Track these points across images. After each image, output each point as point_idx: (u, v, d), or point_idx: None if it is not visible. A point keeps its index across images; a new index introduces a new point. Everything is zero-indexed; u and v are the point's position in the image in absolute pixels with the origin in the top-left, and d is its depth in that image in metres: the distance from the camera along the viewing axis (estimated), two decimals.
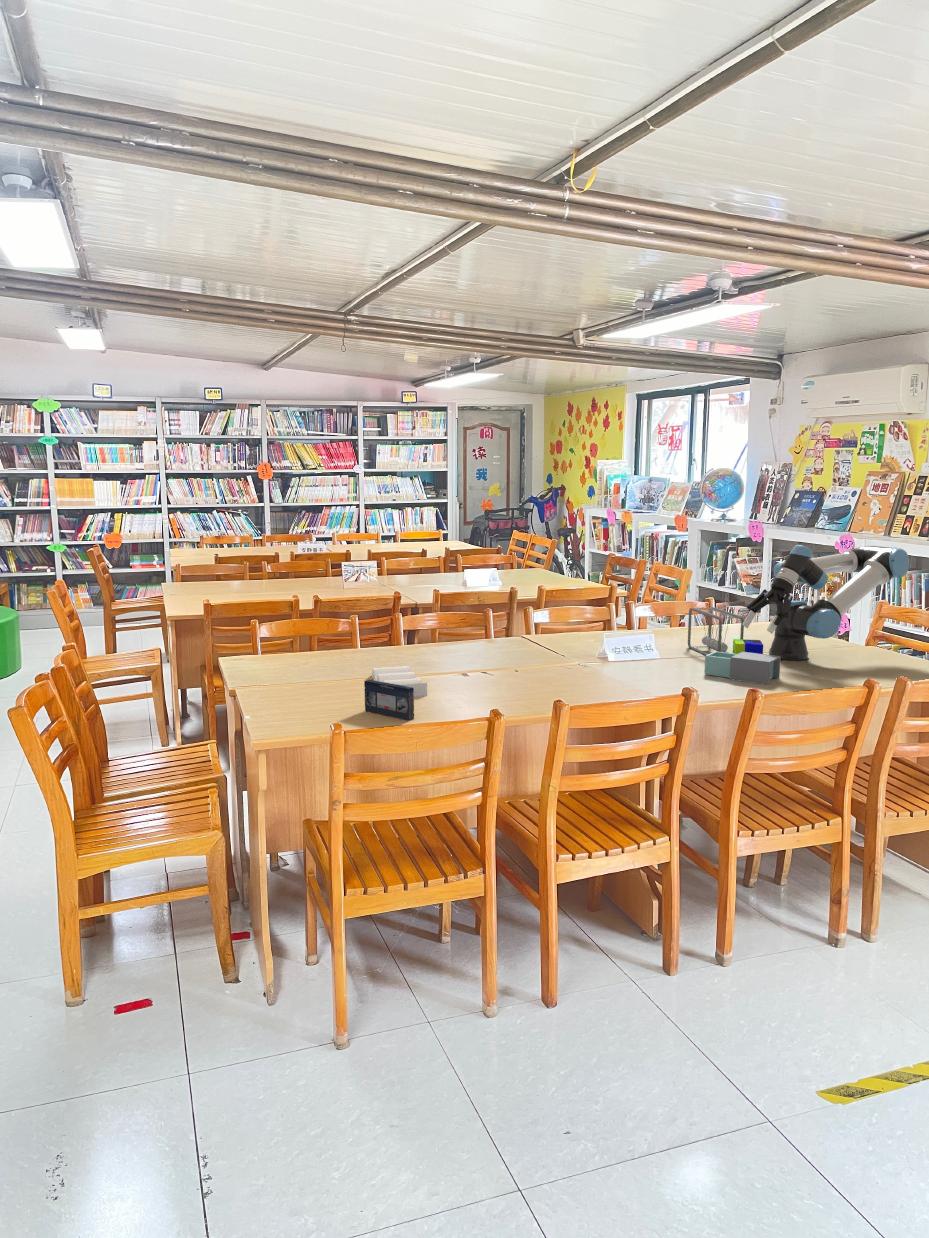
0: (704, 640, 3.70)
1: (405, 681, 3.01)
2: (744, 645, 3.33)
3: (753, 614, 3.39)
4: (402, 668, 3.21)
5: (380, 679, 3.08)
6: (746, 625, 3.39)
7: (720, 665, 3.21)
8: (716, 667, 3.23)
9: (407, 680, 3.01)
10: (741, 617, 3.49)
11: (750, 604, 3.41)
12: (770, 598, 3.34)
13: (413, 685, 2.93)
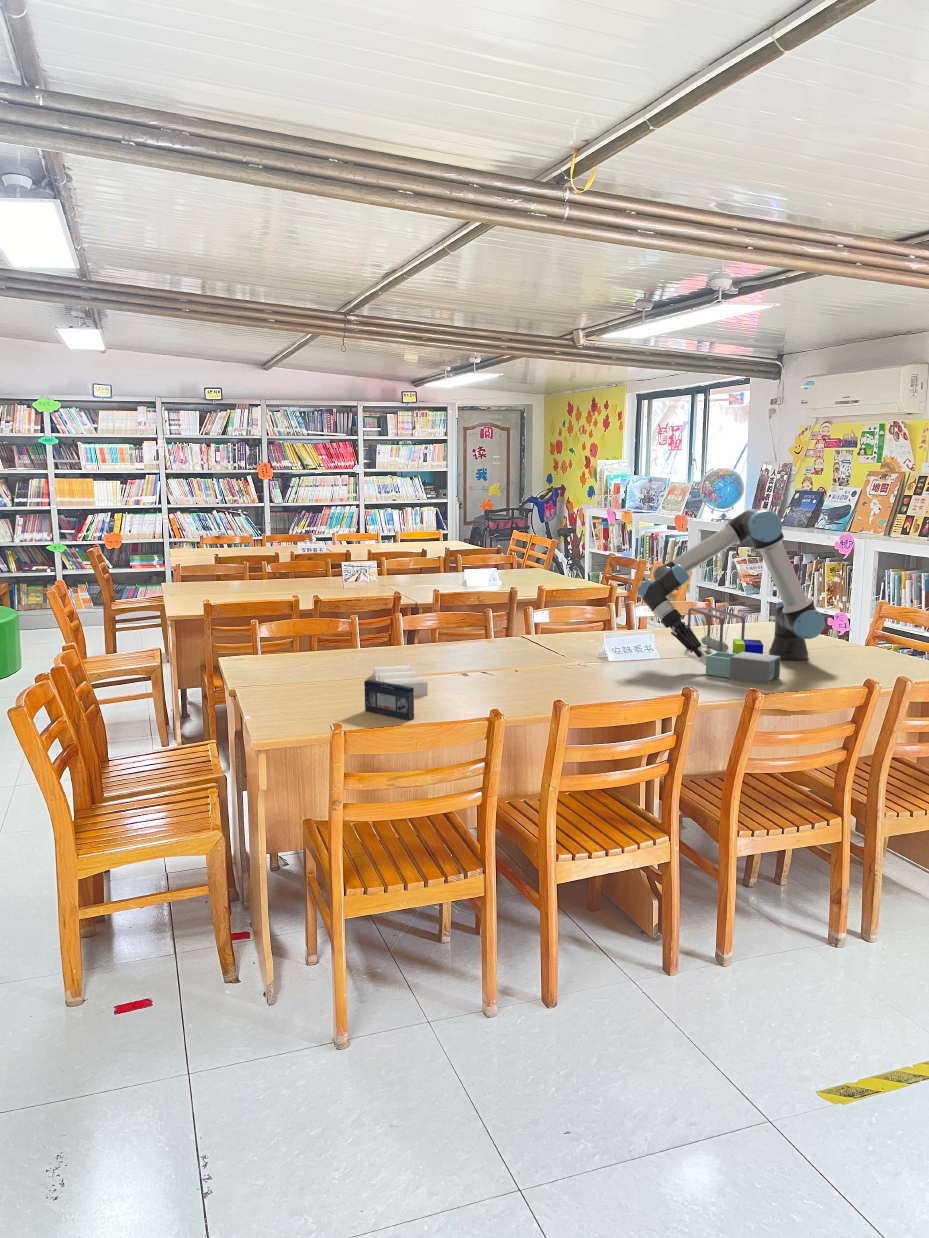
0: (704, 640, 3.70)
1: (406, 680, 3.02)
2: (744, 645, 3.33)
3: None
4: (403, 668, 3.22)
5: (381, 678, 3.09)
6: None
7: (722, 665, 3.21)
8: (717, 667, 3.22)
9: (408, 679, 3.02)
10: (742, 617, 3.50)
11: None
12: None
13: (413, 684, 2.94)
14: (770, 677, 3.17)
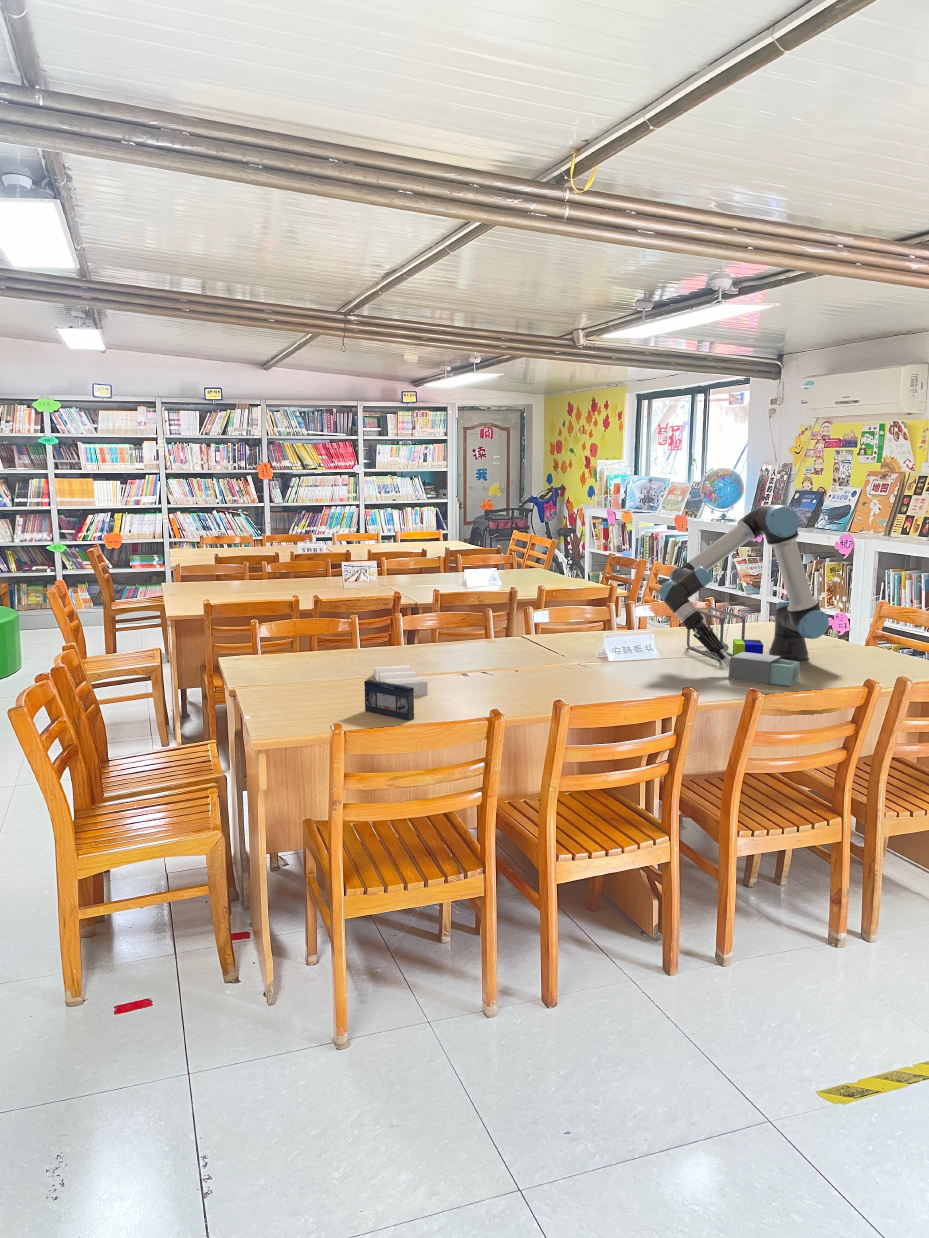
0: None
1: (406, 680, 3.02)
2: (744, 645, 3.33)
3: None
4: (403, 667, 3.22)
5: (381, 678, 3.09)
6: None
7: None
8: None
9: (408, 679, 3.03)
10: (742, 617, 3.50)
11: None
12: None
13: (413, 684, 2.94)
14: (795, 680, 3.12)
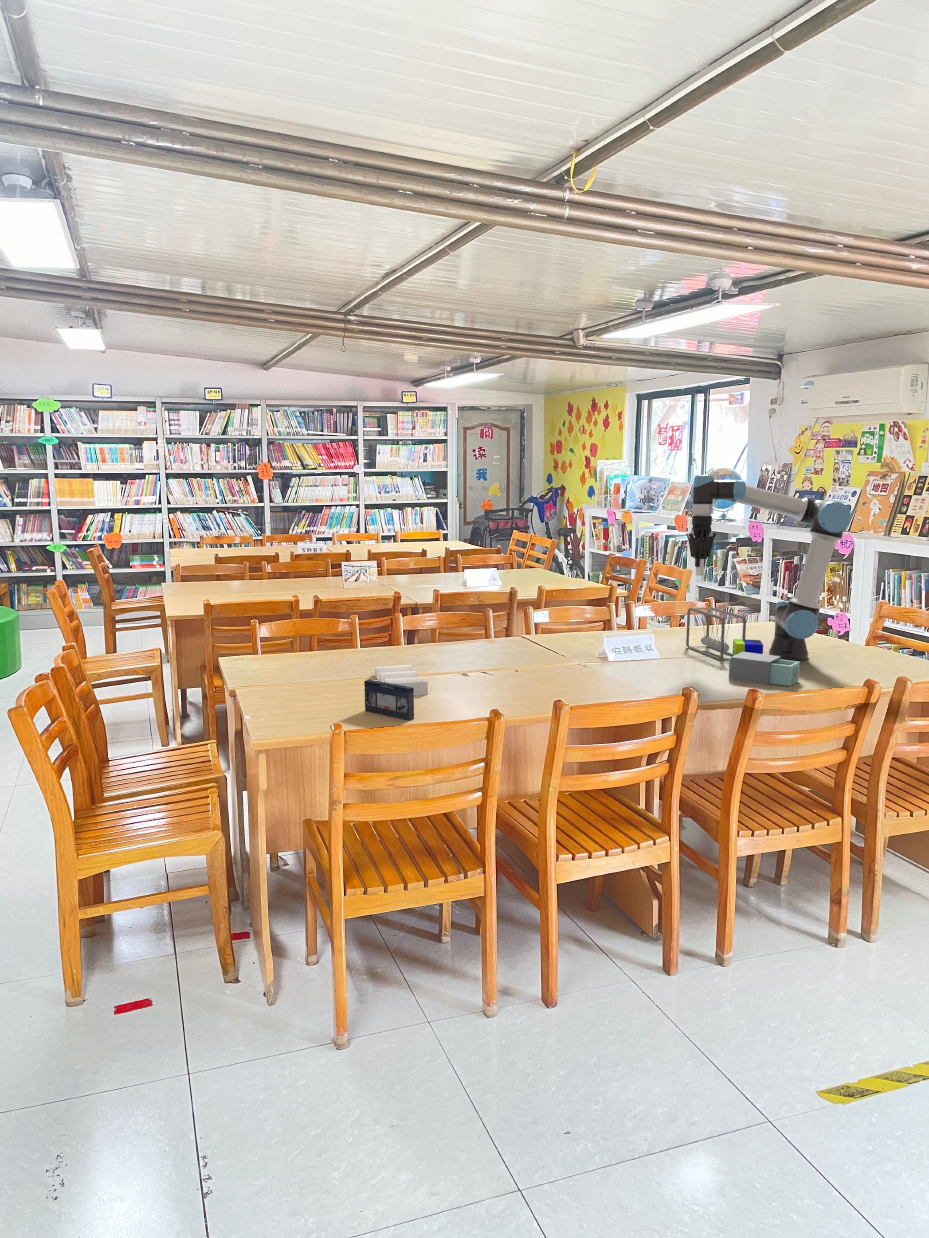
0: (703, 640, 3.70)
1: (406, 680, 3.03)
2: (744, 645, 3.33)
3: None
4: (404, 667, 3.23)
5: (382, 678, 3.10)
6: None
7: None
8: None
9: (408, 679, 3.03)
10: (743, 617, 3.50)
11: (705, 551, 3.46)
12: None
13: (414, 684, 2.95)
14: (795, 680, 3.12)
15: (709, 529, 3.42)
